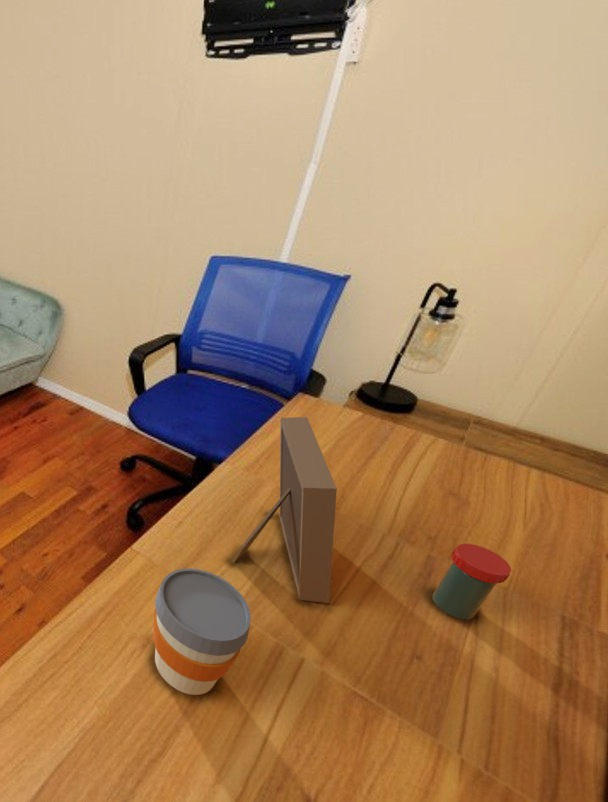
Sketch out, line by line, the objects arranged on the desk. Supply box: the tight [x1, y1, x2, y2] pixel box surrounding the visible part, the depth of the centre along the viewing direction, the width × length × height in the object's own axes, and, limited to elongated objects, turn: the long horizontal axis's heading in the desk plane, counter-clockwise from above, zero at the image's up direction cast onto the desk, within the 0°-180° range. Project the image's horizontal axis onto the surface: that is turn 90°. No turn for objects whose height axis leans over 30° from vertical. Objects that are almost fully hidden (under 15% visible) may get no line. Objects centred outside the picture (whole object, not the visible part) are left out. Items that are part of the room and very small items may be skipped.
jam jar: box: [431, 561, 498, 620], centre depth 85 cm, size 6×6×11 cm
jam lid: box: [450, 543, 512, 584], centre depth 83 cm, size 7×7×2 cm
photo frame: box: [231, 416, 338, 604], centre depth 93 cm, size 15×22×25 cm
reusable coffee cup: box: [152, 567, 252, 696], centre depth 76 cm, size 12×12×15 cm
